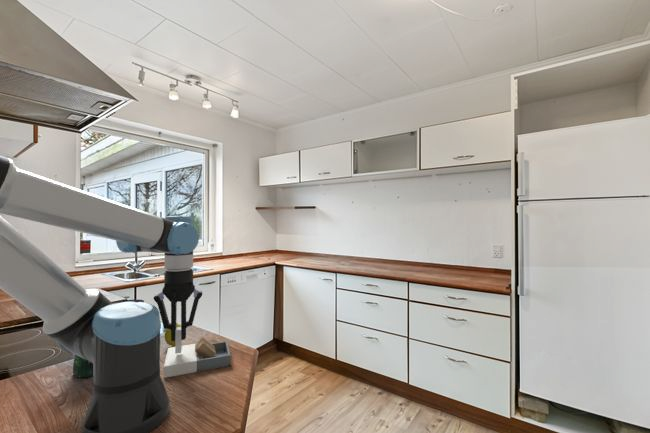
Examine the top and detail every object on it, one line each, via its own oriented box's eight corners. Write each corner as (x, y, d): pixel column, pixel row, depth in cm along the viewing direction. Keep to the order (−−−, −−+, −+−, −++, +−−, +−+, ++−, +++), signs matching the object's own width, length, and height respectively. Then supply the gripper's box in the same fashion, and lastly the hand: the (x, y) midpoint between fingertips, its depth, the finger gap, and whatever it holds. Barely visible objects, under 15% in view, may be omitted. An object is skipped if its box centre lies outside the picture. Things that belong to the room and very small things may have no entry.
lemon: (162, 346, 101) (162, 322, 101) (180, 342, 104) (180, 318, 104) (167, 351, 96) (167, 326, 97) (185, 346, 100) (185, 322, 100)
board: (196, 371, 83) (196, 360, 83) (163, 378, 80) (163, 366, 80) (196, 353, 95) (196, 343, 95) (168, 357, 92) (168, 347, 92)
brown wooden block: (207, 361, 88) (215, 353, 89) (194, 351, 87) (203, 342, 88) (207, 354, 93) (214, 346, 94) (195, 344, 92) (202, 336, 92)
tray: (230, 365, 87) (230, 355, 87) (197, 371, 83) (197, 360, 83) (227, 350, 97) (227, 341, 97) (197, 355, 93) (197, 345, 94)
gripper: (203, 266, 94) (203, 343, 93) (155, 268, 89) (154, 349, 88) (203, 269, 87) (202, 352, 86) (151, 272, 82) (150, 360, 81)
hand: (178, 351), depth 87 cm, fingers closed
